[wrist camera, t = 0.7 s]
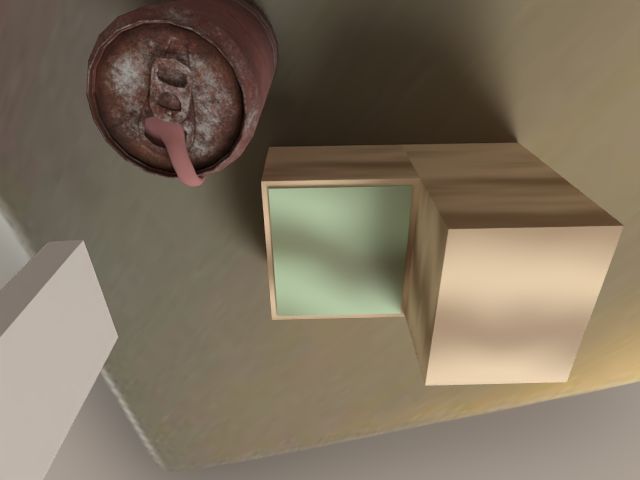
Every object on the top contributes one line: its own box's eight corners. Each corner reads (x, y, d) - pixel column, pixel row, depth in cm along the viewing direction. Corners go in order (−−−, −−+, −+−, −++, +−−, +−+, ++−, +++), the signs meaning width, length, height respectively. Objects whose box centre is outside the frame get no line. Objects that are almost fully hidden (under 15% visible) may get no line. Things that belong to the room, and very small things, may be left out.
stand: (268, 147, 31) (248, 233, 20) (518, 142, 31) (623, 225, 21) (277, 271, 36) (265, 391, 26) (491, 267, 36) (565, 384, 26)
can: (206, 117, 30) (135, 213, 18) (160, 14, 27) (36, 44, 15) (293, 87, 29) (283, 167, 17) (256, -23, 26) (211, -22, 14)
